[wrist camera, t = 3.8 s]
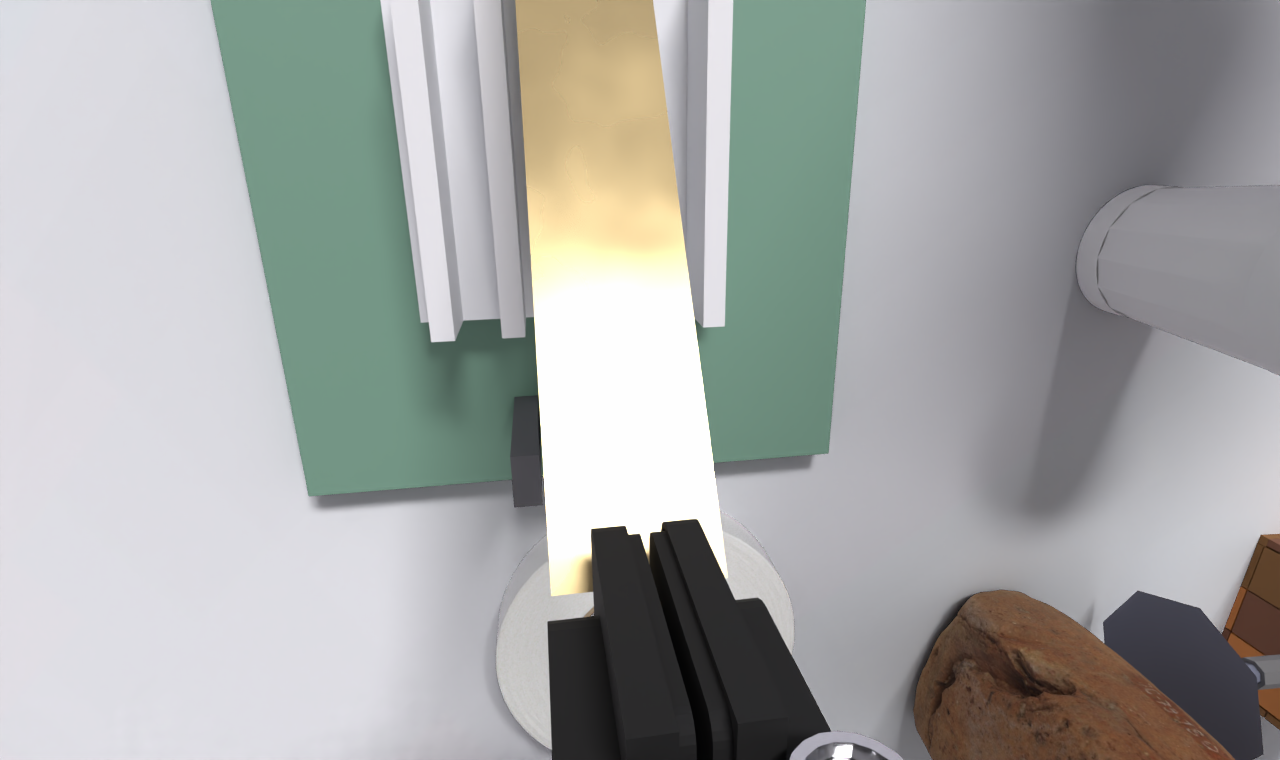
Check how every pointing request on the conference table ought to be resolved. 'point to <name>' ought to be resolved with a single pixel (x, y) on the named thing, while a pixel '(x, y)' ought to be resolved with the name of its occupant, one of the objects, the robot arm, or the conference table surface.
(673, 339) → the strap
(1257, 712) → the clamp
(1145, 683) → the block
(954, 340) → the conference table surface
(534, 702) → the roll of tape
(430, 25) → the motherboard
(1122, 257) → the cup
